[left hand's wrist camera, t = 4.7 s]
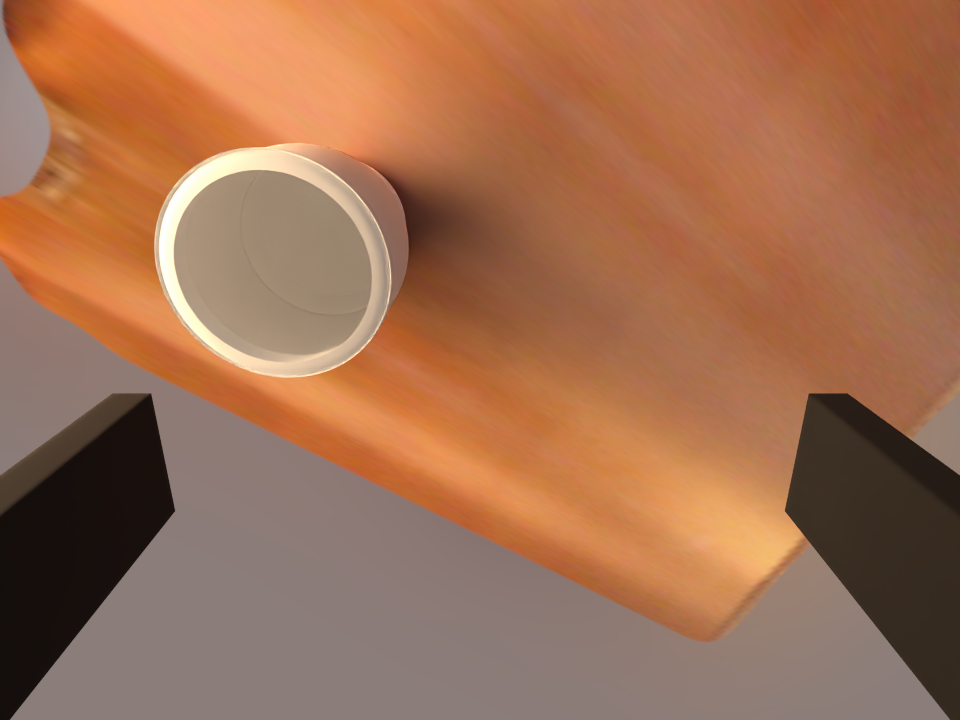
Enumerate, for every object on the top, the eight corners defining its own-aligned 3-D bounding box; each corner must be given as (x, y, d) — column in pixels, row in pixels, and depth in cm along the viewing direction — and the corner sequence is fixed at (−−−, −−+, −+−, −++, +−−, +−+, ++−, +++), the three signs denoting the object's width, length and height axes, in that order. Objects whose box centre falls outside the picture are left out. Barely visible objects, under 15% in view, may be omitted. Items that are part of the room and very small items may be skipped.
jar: (236, 238, 42) (112, 294, 28) (314, 104, 39) (220, 92, 25) (369, 326, 44) (317, 420, 30) (452, 206, 41) (438, 247, 27)
